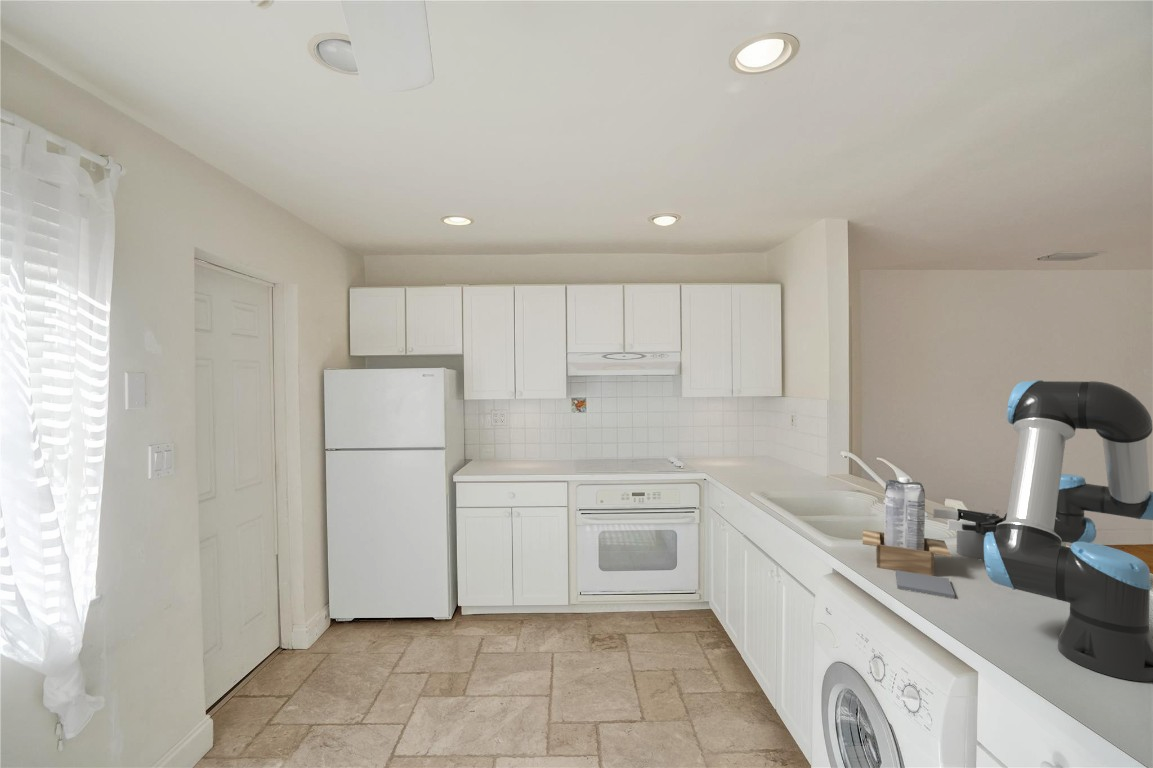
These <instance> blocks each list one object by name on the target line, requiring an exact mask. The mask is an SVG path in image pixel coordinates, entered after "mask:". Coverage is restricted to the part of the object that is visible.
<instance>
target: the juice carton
mask: <svg viewBox="0 0 1153 768" xmlns="http://www.w3.org/2000/svg"><path fill="white" fill-rule="evenodd" d="M884 490H885V491H884V492H885V493H884V494H885V495H884V533H885V534H884V545H887V546H894V547H901V548H908V549H915V550H922V551H924V538H925V521H926V519H925V518H926V517H925V516H926V509H925V508H926V500H925V498H926V495H925V489H924V486H923V484H922V483H921V482H915V481H911V478H910V477H903V476H902V477H901V476H900V477H899V478H898V480H894V479H888V480H887V481H886V483H885V489H884Z"/></svg>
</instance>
